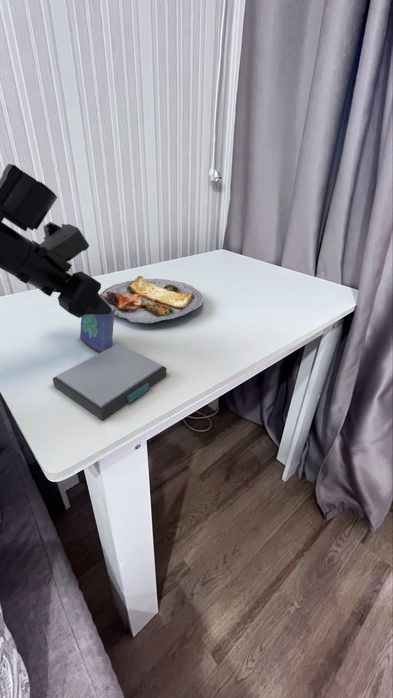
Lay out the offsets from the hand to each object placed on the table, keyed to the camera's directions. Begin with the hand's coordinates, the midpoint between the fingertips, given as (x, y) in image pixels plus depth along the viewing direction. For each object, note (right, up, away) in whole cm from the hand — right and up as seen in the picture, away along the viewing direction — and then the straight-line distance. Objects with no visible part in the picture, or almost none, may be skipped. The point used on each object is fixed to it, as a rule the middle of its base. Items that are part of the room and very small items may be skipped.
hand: (97, 302), depth 61 cm
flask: (-2, -8, +4) cm, 9 cm away
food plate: (+7, +2, +20) cm, 22 cm away
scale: (+4, -14, -5) cm, 15 cm away
